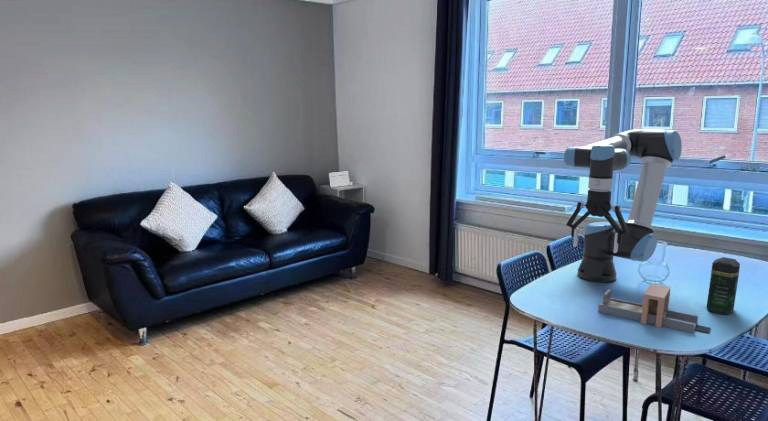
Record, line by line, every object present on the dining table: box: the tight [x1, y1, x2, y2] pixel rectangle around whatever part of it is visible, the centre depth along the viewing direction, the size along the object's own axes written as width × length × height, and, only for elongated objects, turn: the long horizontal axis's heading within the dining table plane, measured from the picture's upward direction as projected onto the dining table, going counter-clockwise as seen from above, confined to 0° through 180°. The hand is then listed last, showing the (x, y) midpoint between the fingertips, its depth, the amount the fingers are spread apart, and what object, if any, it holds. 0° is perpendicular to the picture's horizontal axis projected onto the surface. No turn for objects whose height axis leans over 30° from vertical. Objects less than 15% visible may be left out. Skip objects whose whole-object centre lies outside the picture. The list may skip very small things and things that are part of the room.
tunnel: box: [640, 283, 671, 329], centre depth 173 cm, size 6×12×10 cm, turn 143°
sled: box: [602, 288, 667, 317], centre depth 177 cm, size 19×6×6 cm, turn 53°
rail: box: [597, 297, 699, 334], centre depth 176 cm, size 29×9×3 cm, turn 53°
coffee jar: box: [706, 256, 741, 315], centre depth 180 cm, size 10×8×19 cm
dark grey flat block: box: [694, 324, 712, 334], centre depth 166 cm, size 4×5×1 cm
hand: (594, 249), depth 183 cm, fingers open, 13 cm apart
